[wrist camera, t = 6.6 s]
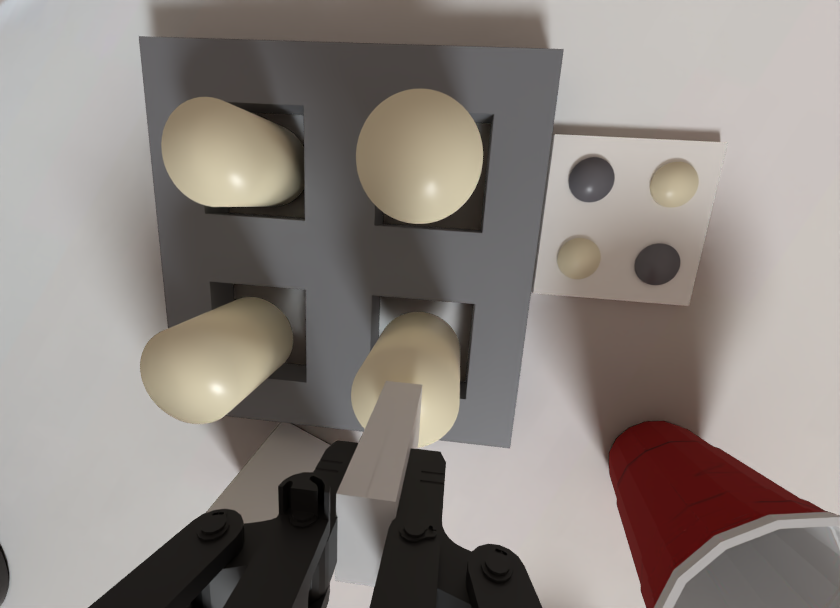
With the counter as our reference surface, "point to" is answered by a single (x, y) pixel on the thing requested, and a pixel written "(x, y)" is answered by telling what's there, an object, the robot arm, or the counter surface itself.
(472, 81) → the board
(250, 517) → the milk carton
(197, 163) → the cream rounded cylinder
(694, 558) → the plastic cup
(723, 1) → the counter surface
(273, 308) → the cream rounded cylinder
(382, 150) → the cream domed cylinder
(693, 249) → the card
